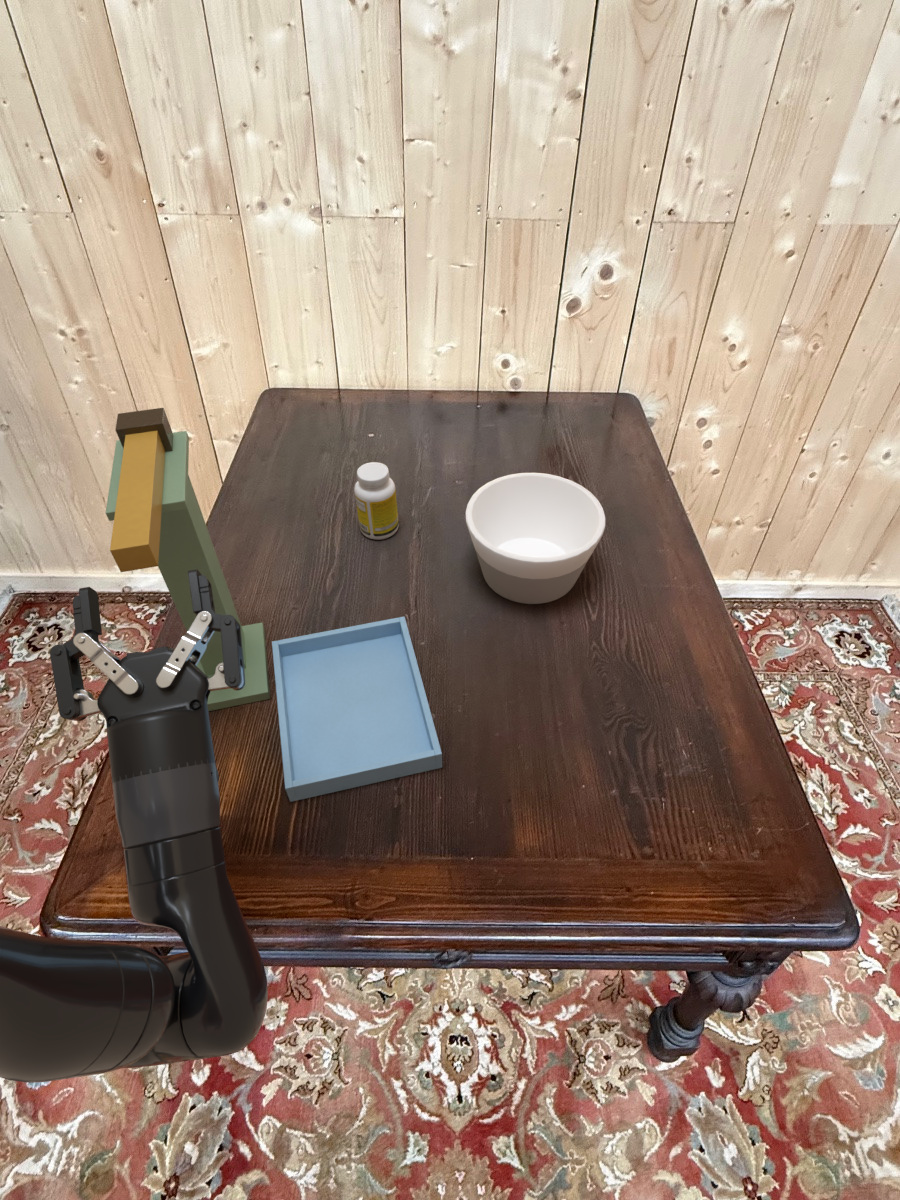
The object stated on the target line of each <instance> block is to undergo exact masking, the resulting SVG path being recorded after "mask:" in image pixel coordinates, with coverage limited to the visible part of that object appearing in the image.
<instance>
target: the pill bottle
mask: <svg viewBox="0 0 900 1200" xmlns="http://www.w3.org/2000/svg"><path fill="white" fill-rule="evenodd" d="M389 470H390V469H389V468H388V466H387V465H386V464H385V463H382V462H379V461H378V462H376V461H371V462H366V463H363V464H362V465H360V466H359V467H358V468H357V470H356V478H357V481H356V482H355V484H354V488H353V489H354V491H353V492H354V497H355V504H356V505H355V506H356V511H357V517H358V525H359V530H360V532H361V533H362V535H363V536H365V537H366V538H368V539H371V540H376V541H379V540H385V539H389V538H390V537H392V536H393V535H395V534H396V533H397V531H398V529H399V525H400V524H399V523H400V521H399V512H398V511H399V510H398V502H397V491H396V484H395V482H394V480H393V479H392V478H391V477H390V471H389Z"/></svg>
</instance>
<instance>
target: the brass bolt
mask: <svg viewBox="0 0 900 1200" xmlns="http://www.w3.org/2000/svg"><path fill="white" fill-rule="evenodd" d="M116 417H117V418H116V424H115V428H114V429H115V432H116V435H117V437H118V440H120V442H121V445H122V447H123V449H124V450H123V457H122V465H121V472H120V480H119V487H118V494H117V502H116V509H115V517H114V520H113V524H112V525H113V526H112V532H111V540H110V546H109V547H110V548H109V551H110V554H111V556H112V558H113V559H114V562H115V563H116V565H117V567H118V569H119V571H120V573H126V572H132V571H138V570H143V569H149V568H155V567H158V560H159V544H160V528H161V512H162V496H163V480H164V464H165V452H168V451H172V449H173V433H174V432H173V430H172V426H171V424H170V421H169V418H168V416H167V413H166V410H165V408H164V407H157V408H150V409H142V410H135V411H134V410H133V411H128V412H121V413H117V416H116Z"/></svg>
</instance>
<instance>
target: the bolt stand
mask: <svg viewBox="0 0 900 1200" xmlns="http://www.w3.org/2000/svg"><path fill="white" fill-rule="evenodd" d="M172 433H173V449H172V451H168V452H165V464H164V480H163V496H162V512H161V528H160V544H159V560H158V566H157V568H158V570H159V572H160V574H161V577H162V579H163V582H164V583H165V586H166V589H167V590H168V592H169V594H170V597H171V600H172V601H173V603H174V605H175V608H176V611H177V613H178V615H179V617H180V620H181V622H182V624H183V626H184V628H185V631H186V633H187V632H188V630H189V628H190V627H191V625H192V623H193V622H194V620H195V618H196V616H197V615H196V614H195V613H194V612H193V606H192V599H191V592H190V584H189V577H188V571H189V570H195V569H197V570H198V571H199V572H200V573H201V575H205V576H206V578H207V579H208V580H209V582H210V583H211V587H212V593H213V600H214V607H215V612H216V614H220V615H231V616H233V617H234V618H235V619H236V620H237V622H238V623H239V624H240V627H241V638H242V650H243V661H244V673H245V686H244V688H243V689H241V690H234V689H232V688H229V689H222V690H215V691H211V692H210V694H209V697H208V702H207V705H208V712H212V711H216V710H217V711H218V710H221V709H227V708H232V707H237V706H242V705H247V704H251V703H257V702H261V701H267V700H271V689H270V677H269V676H270V675H269V664H268V663H269V662H268V652H267V643H266V642H267V641H266V640H267V639H266V629H265V625H264V622H257V623H252V624H246V625H242V623H241V621H240V617H239V615H238V613H237V608H236V606H235V604H234V600H233V598H232V595H231V592H230V589H229V586H228V583H227V581H226V578H225V575H224V571H223V569H222V566H221V563H220V561H219V558H218V555H217V553H216V552H217V551H216V549H215V547H214V543H213V541H212V538H211V535H210V532H209V530H208V527H207V524H206V520H205V518H204V515H203V512H202V509H201V506H200V504H199V500H198V498H197V495H196V492H195V488H194V486H193V484H192V481H191V478H190V475H189V460H190V459H189V457H190V456H189V453H190V437H189V435H188V430H182V431H175V432H172ZM123 450H124V449H123V447H122V445H121V442H120V440H119V439H118V440H117V439H116V441H115V447H114V455H113V460H112V467H111V474H110V479H109V480H110V481H109V487H108V493H107V501H106V506H105V515H106V517H107V520H108V521H109V522H111V521H113V522H114V517H115V509H116V502H117V494H118V487H119V480H120V472H121V465H122V457H123ZM192 657H194V655H193V656H192ZM220 663H223V653H222V641H221V632H218V631H215V632H214V633H213V635H212V637H211V639H210V640H209V642H208V644H207V648H206V650H205V652H204V654H203V656H202V657H201V659H200V661H199V663H198V664H197V667H198V668H199V669H200V670H201V671H202V672H203V673H204V674H205V675H206V676H207V677H208V678H211V677H213V676H214V674H215V669H216V667H217V665H218V664H220Z"/></svg>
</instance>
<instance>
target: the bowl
mask: <svg viewBox="0 0 900 1200" xmlns="http://www.w3.org/2000/svg"><path fill="white" fill-rule="evenodd" d="M606 519H607V518H606V513H605V511H604V508H603V506H602V504H601V503H600V501H599V499H598V498H597V497H596V496H595V495H594V494H593V493H592V492H591V491H590V490H588V489H587V488H586V487H584V486H582V485H581V484H579V483H578V482H575V481H574V480H571V479H567V478H565V477H562V476H560V475H555V474H550V473H543V472H519V473H511V474H506V475H504V476H499V477H497V478H495V479H493V480H491V481H488V482H486V483H485V484H484V485H482V486H480V487H479V488H478V489H477V490H476V491H475V492H474V493H473V494H472V495H471V497H470V499H469V501H468V502H467V504H466V508H465V523H466V527H467V529H468V532H469V535H470V539H471V543H472V545H473V548H474V551H475V554H476V557H477V561H478V563H479V566H480V569H481V570H480V571H481V573H482V575H483V579H484V581H485V583H486V584H487V585H488V587H489V588H490V589H491V590H492V591H494V593H495V594H497V595H499V596H500V597H502V598H504V599H506V600H509V601H512V602H514V603H519V604H527V605H540V604H546V603H547V604H548V603H551V602H553V601H556V600H559V599H560V598H562V597H564V596H565V595H567V594H568V593H570V591H571V590H572V588H573V587H574V586H575V584H576V582H577V581H578V579H579V577H580V575H581V574H582V572H583V570H584V569H585V567H586V565H587V563H588V561H589V560H590V558H591V556H592V555H593V553H594V551H595V550H596V548H597V546H598V544H599V543H600V540H601V539H602V537H603V535H604V532H605V529H606Z"/></svg>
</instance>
